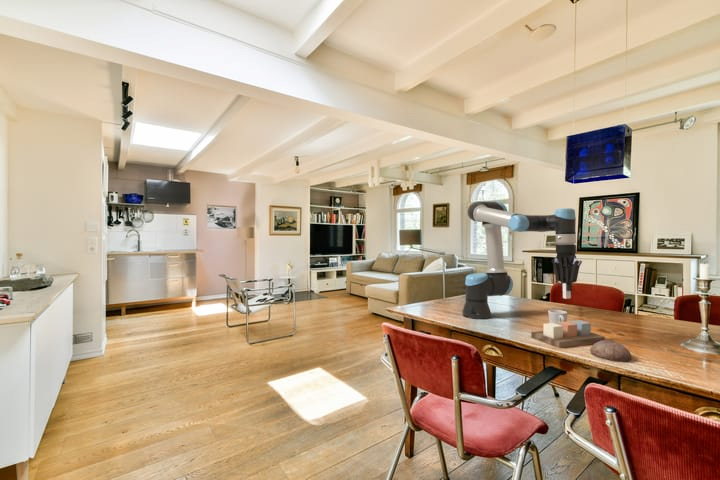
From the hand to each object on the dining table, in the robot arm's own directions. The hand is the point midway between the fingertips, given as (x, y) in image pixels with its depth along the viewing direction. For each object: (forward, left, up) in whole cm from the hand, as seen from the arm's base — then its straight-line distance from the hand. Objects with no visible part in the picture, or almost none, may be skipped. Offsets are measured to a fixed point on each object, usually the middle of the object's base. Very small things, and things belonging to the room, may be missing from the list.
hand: (566, 298), depth 139 cm
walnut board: (+2, -2, -17) cm, 18 cm away
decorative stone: (+21, -4, -18) cm, 28 cm away
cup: (-12, +9, -18) cm, 23 cm away
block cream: (+2, -10, -15) cm, 18 cm away
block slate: (+2, +5, -15) cm, 16 cm away
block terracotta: (+2, -2, -15) cm, 16 cm away
